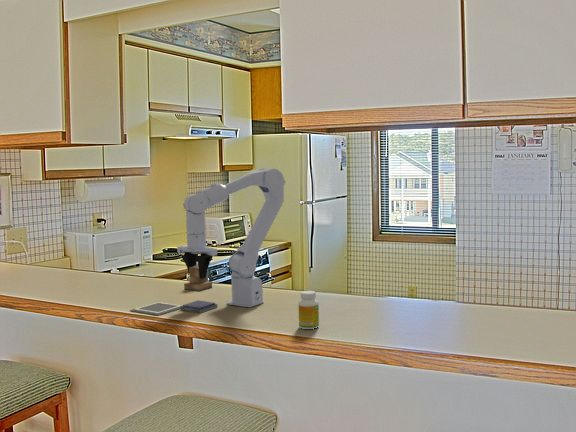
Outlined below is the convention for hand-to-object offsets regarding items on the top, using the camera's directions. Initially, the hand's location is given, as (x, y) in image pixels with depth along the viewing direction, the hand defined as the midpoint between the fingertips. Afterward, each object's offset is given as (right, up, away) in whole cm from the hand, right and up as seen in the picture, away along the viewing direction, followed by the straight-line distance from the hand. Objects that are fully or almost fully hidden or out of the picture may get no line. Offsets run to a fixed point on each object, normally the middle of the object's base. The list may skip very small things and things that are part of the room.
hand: (197, 277), depth 194 cm
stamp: (0, -4, 0) cm, 4 cm away
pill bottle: (-4, -7, +35) cm, 35 cm away
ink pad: (0, -10, +1) cm, 10 cm away
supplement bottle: (+33, -12, -23) cm, 42 cm away
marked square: (-13, -10, +2) cm, 16 cm away
